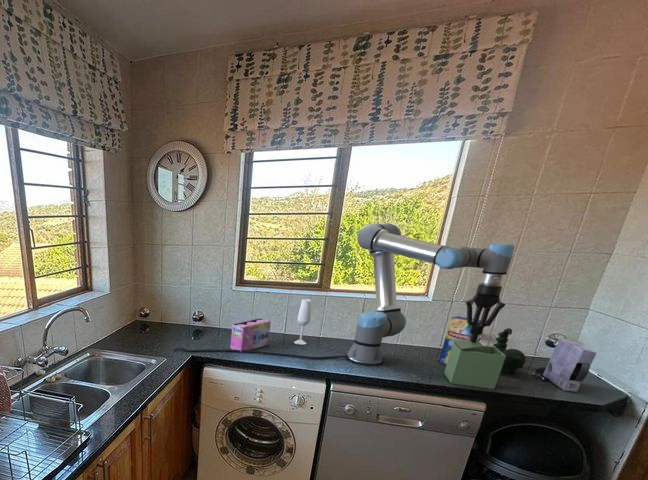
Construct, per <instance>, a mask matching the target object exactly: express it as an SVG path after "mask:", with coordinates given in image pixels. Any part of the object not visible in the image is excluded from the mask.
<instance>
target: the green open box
mask: <svg viewBox="0 0 648 480" xmlns="http://www.w3.org/2000/svg"><path fill="white" fill-rule="evenodd" d="M483 346H484V347H479V348H471V349H464V350H461V349H460V348H459V347H458V346H457V345H456V343H453V345H452V348H451V352H450V355H449V358H448V362H447V364H445V365H446V366H445V368H444V372H443V374H444V375H445V376H446V379H447V380H448V382H449V383H450V384H453V385H460V386H468V387H474V388H475V387H476V388H483V389H492V390H495V388H496V386H497V382H498V380H499V377H500V374H501V372H502V370H503V368H502V366H503V363H504V360H505V357H506V355H504V354H503V353H502V352H501V351H499V350H498V349H497V348H496V347H495V346H490V345H483ZM471 351H472V352H471ZM478 352H481V353H478Z"/></svg>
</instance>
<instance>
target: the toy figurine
mask: <svg viewBox="0 0 648 480" xmlns="http://www.w3.org/2000/svg"><path fill="white" fill-rule="evenodd" d="M512 334H513V329H512V328H510V327H508V328H507V327H506V328H505V329H503V331H501V332H498V333H497V335H498V337H496V338H495V341H496V343H494V344H493V346H492V347H496V348H497V349H498V350H499V351H501V352H502V353H503V354H504V355H506V357H505V360H504V363H503V366H502V372H503V374H507V375H513V374H515V372H516V370H518V369H522V368H523V366H524V365H525V363H526V361H527V359H526V355H525V354H524V352H522V351H521V350H520V349H516V348H508V344H507V343H508V342H509V336H511V335H512Z"/></svg>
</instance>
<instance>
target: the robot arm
mask: <svg viewBox="0 0 648 480" xmlns="http://www.w3.org/2000/svg"><path fill="white" fill-rule="evenodd" d="M356 241H357V244H358V245H359V247H361V248H362V249H363V250H368V251H369V252H368V253H369V256H370V257H371V258H372V259H373V273H374V274H373V276H374V287H375V289H374V290H375V291H374V292H375V308H374V309H373V310H372V311H371V310H369V311H364V312H362V313H360V314H359V317H358V319H357V324H356V329H355V335H354V339H353V343H352V345H351V347H350V348H349V350H348V352H347V354H346V355H330V356H329V355H328V356H311V355H310V356H308V355H300V354H290V353H282V352H281V353H280V352H272V351H261V350H242V352H241V351H240V350H232V349H222V348H221V349H215V348H214V349H209V348H207V349H187V348H184V347H175V348H174V349H173V350H172V351H173V352H175V351H177V350H180V351H184V352H188V353H189V352H190V353H195V352H197V353H198V352H229V353H230V352H232V353H233V352H234V353H251V354H252V353H253V354H265V355H274V356H283V357H292V358H302V359H310V360H311V359H312V360H325V359H341V358H342V359H343V358H344V359H345V358H346V359H347V360H348V361H349V362H351V363H355V364H359V365H366V366H378V365H381V364H382V362H383V356H382V349H381V346H382V341H383V338H387V337H393V336H396V335H398V334H400V333H401V332H402V331H404V329H406V325H407V318H406V316H405V314H403V313H402V310H401V306H399V305H398V302H397V285H396V269H395V267H396V266H395V255H398V256H402V257H406V258H410V259H413V260H417V261H420V262H425V263H428V264H432V265H436V266H438V268H441V269H443V270H452V269H453V270H454V269H461V268H476V269H477V268H478V269H482V272H481V276H480V279H479V281H478V282H479V284H478V285H477V287H476V288H477V289H476V291H475V295H474V296H473V297H472V298H471V299H469V300H468V299H467V300H465V301H464V303H465V306H466V317H467V323H468V324H469V325H471V329H470V333H471V334H472V335H471V339H470V341H471V342H474V343H476V341H477V338H478V335H482V334H483V332H484V328H486V327H490V326H491V325H492V323H493V322H494V321H495V319H496V317H497V316H498V314H499V313H500V311H501V310H502V309H503V308H504V307H506V304H505V303H504V302H502V301H501V297H500V295H501V294H502V290H503V286H502V285H504V283H505V280H506V277H507V273H508V270H509V267H510V265H511V262H512V260H513V256H514V253H515V252H514V251H515V245H514V244H512V243H490V246H489V247H488V248H480V247H468V246H458V247H451V246H447V245H442V244H438V243H434V242H430V241H425V240H421V239H416V238H413V237H409V236H403V235H402V231H401V229H400V228H399V227H398V225H396V224H395V223H394V224H393V223H389V222H384V223H369V224H366V225H364V226H362V228H361V229H360V230H359V231H358V233H357V237H356ZM474 304H475V306H476V307H475V312H474V315H473V305H474ZM494 306H495V307H494ZM493 307H494V308H493ZM492 308H493V310H492V312H491V313H490V311H491V309H492ZM482 311H483V312H482ZM481 313H482V314H481ZM489 314H490V315H489ZM480 317H481V318H480ZM472 319H473V321H472ZM478 320H481V321H480V324H479V326H477V324H478Z"/></svg>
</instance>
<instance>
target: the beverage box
mask: <svg viewBox="0 0 648 480" xmlns="http://www.w3.org/2000/svg"><path fill="white" fill-rule="evenodd" d="M472 321H473V318H472ZM480 321H481V319H479V320H478V324H477V326H479V324H480ZM470 329H471V325H469V324H468V323H467V316H461V315H458V316H452V317H450V320H449V324H448V327H447V331H446V334H445V338H444V341H443V345H442V347H441V351H440V355H439V359H438V362H439V363H441V364H442V363H443V364H445V365H447V362H448V358H449V355H450V352H451V348H452V345H453V343H455V342H454V341H456V340H463V339H470V338H471V335H472V334H471V333H470ZM481 335H482V334H481ZM481 335H478V338H477V340H478V341H479V342H480V339H481Z"/></svg>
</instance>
